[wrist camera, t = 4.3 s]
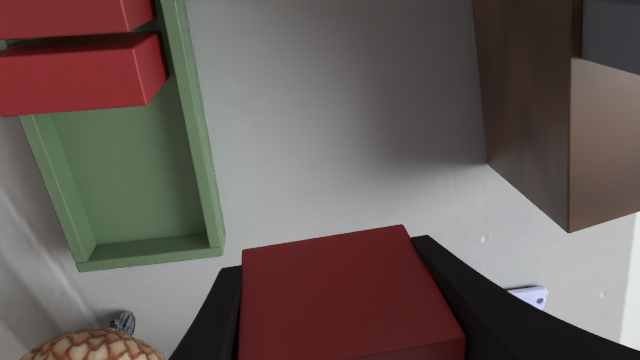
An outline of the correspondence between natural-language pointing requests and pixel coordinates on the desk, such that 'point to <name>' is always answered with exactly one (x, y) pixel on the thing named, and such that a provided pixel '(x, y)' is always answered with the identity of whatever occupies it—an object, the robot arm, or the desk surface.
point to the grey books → (612, 34)
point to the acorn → (97, 344)
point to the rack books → (78, 56)
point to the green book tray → (134, 167)
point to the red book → (344, 301)
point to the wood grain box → (557, 113)
